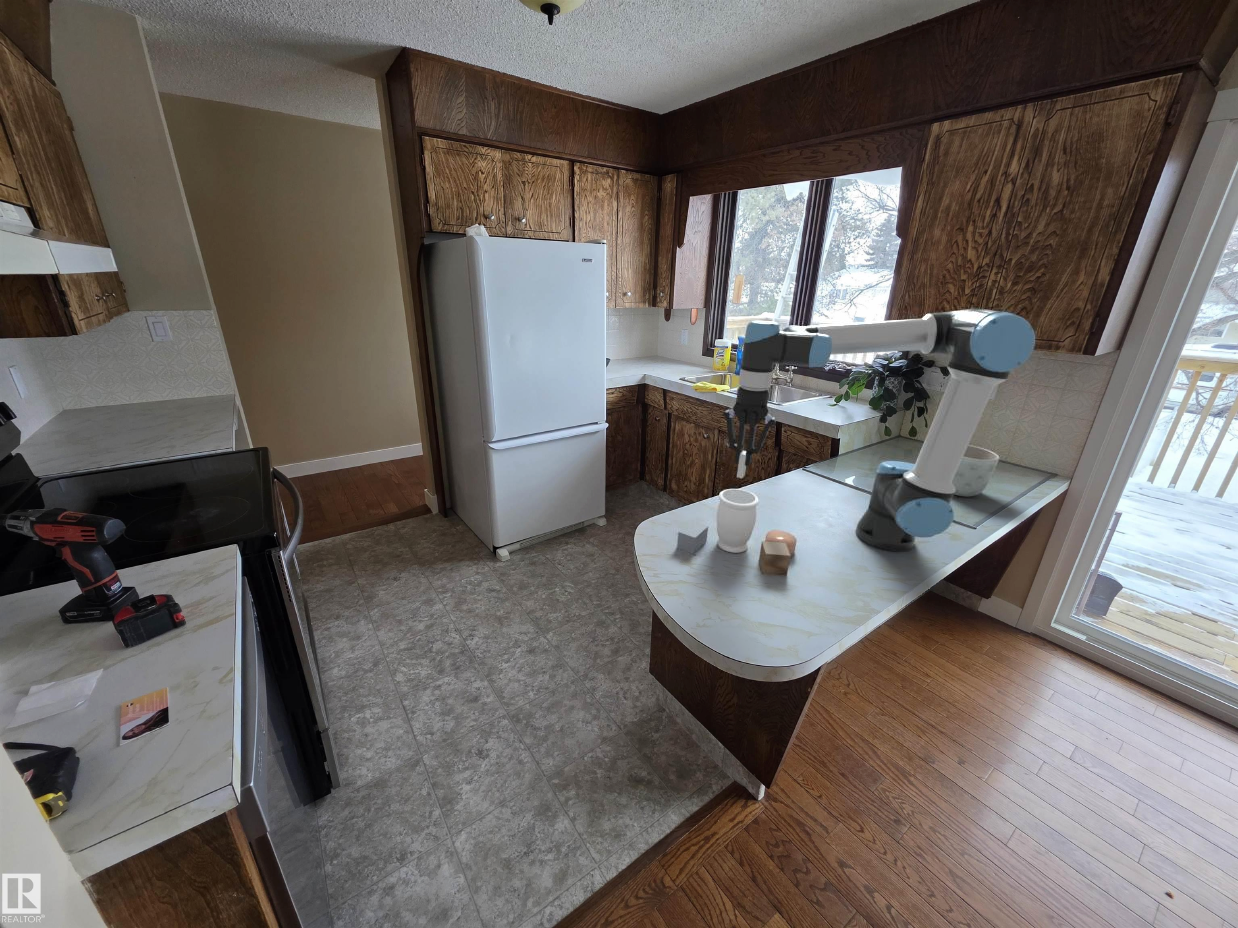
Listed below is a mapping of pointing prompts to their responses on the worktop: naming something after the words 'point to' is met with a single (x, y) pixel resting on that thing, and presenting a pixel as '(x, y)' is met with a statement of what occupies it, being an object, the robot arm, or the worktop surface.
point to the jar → (735, 519)
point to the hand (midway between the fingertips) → (740, 475)
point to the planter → (974, 471)
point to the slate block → (692, 537)
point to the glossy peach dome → (782, 539)
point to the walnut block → (774, 558)
